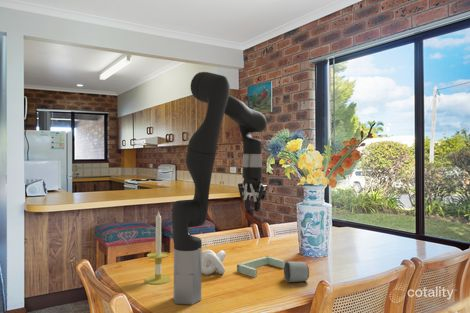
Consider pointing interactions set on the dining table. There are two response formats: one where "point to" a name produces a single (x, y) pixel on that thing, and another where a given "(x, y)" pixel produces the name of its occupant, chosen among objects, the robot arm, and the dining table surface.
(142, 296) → the dining table surface
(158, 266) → the candle
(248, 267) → the u-shaped bracket
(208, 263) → the white knot sculpture
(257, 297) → the dining table surface
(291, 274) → the ceramic mug
